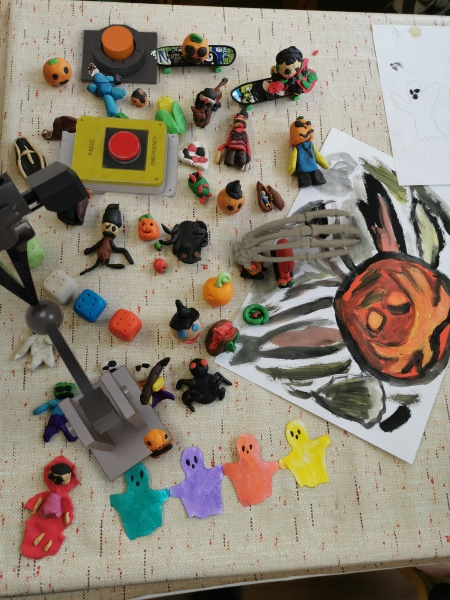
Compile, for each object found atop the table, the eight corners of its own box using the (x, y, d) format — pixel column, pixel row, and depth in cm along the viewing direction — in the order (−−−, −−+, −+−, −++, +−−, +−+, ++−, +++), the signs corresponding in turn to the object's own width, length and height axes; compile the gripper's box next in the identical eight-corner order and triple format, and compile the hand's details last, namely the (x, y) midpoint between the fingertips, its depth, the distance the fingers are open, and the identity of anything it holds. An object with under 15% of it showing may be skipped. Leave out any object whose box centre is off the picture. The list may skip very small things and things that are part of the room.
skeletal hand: (364, 254, 72) (381, 246, 65) (235, 279, 70) (241, 273, 64) (354, 209, 72) (371, 197, 66) (226, 233, 70) (231, 223, 64)
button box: (81, 82, 75) (78, 69, 73) (84, 33, 77) (81, 19, 75) (156, 84, 76) (155, 72, 73) (157, 35, 78) (156, 22, 76)
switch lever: (28, 323, 57) (13, 305, 54) (59, 304, 57) (46, 285, 54) (95, 441, 49) (81, 427, 46) (130, 417, 50) (119, 402, 47)
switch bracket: (64, 405, 63) (24, 386, 47) (125, 366, 65) (106, 334, 49) (111, 482, 61) (86, 488, 45) (172, 439, 63) (169, 430, 47)
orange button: (102, 59, 74) (101, 50, 72) (104, 34, 75) (102, 25, 73) (133, 60, 74) (132, 51, 72) (134, 35, 75) (133, 26, 74)
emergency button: (175, 181, 67) (48, 173, 66) (175, 198, 71) (56, 191, 70) (179, 114, 70) (57, 106, 69) (179, 134, 74) (64, 126, 73)
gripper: (-198, 243, 37) (-51, 401, 45) (53, 113, 41) (145, 280, 49) (-177, 204, 46) (-57, 341, 54) (27, 100, 50) (109, 243, 58)
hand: (34, 302), depth 54 cm, fingers closed
